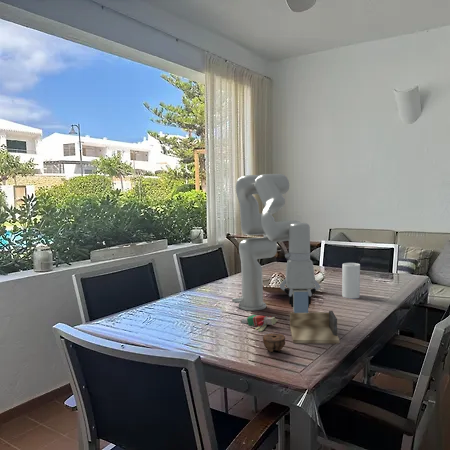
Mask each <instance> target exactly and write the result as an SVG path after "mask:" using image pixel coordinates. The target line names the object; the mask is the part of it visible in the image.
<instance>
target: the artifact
mask: <svg viewBox="0 0 450 450" xmlns="http://www.w3.org/2000/svg"><path fill="white" fill-rule="evenodd" d="M262 342H263V345H264V347H265V349H266V350H267V351H268V352H269V353H273V352H274V351H278V352H281V351H282V349H283V348H284V347H285V345H286V336H285V335H284V334H282V333H273V332H272V333H266V334H264V335H262Z"/></svg>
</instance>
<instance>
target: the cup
mask: <svg viewBox="0 0 450 450" xmlns="http://www.w3.org/2000/svg"><path fill="white" fill-rule="evenodd" d="M341 269H342V274H341V276H342V278H341V279H342V280H341V281H342V283H341V286H342V287H341V292H342V294H341V295H342V296H341V297H343V298H344V299H350V300H351V299H353V300H354V299H359V298H360V297H361V296H360V295H361V292H360V291H361V264H360V263H358V262H357V263H356V262H344V263H342V268H341Z"/></svg>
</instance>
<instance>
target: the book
mask: <svg viewBox="0 0 450 450" xmlns="http://www.w3.org/2000/svg"><path fill="white" fill-rule="evenodd" d="M292 294H293V307H292V310H293V312H294V313H308V312H309V307H308V290H307V289H294V290H293V293H292Z"/></svg>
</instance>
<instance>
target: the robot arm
mask: <svg viewBox="0 0 450 450" xmlns="http://www.w3.org/2000/svg"><path fill="white" fill-rule="evenodd" d="M289 190H290V180H289V179H288V177H287V176H286V175H285V174H282V173H264V174H250V175H249V174H248V175H243V176H242V175H241V176H240V177H238V179H237V180H236V183H235V191H236V197H237V200H238V204H239V215H240V229H241V231H242V234H243V235H244V236H257V235H258V236H259V235H263V237H252V238H251V237H250V238H244V239H242V240H241V241H240V242H239V244H238V253H239V258H240V268H241V270H240V271H241V275H240V276H241V297H232V298H231V299H232V301H231V302H232V303H234V304H238V308H239V309H240V310H243V311H250V312H251V311H262V310H265V309H266V308H267V303H265V302H264V296H263V295H264V293H263V292H264V290H263V289H264V288H263V286H264V285H263V268H262V265H261V264H260V263H259V262H258V260H259V259H269V258H270V259H271V258H273V257H275V256H276V255H277V251H278V242H288V253H285V254H284V257H285V259H288V260H287V262H286V266H285V267H286V268H285V277H284V279H283V280H282V281H281V283H280V284H279V288H280V289H281V290H282V291H284V292H285V293H286V295H288V300H289V301H288V303H289V305H290V307H291V308H293V294H292V293H293V290H294V289H307V290H308V308H310V305H311V304H312V296H313V295H314V293H315V292H316V291H318V290H320V289H321V285H320V283H319V282H318V281H317V280H316V279H315V270H314V262H313V260H311V227H310V224H309V223H307V222H301V221H298V220H285V221H284V220H281V221H280V220H279V221H275V220H276V219H275V218H274V216H273V214H275V213H278V212H279V211H280V210H282V209H283V207H285V204H286V199H285V197H284V195H285V194H286V193H288V191H289ZM255 195H258V196H259V199H260V200H261V203H262V205H263V207H264V208H263V209H262V212H261V213H260V205H259V202H258V200H257V198H255Z"/></svg>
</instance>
